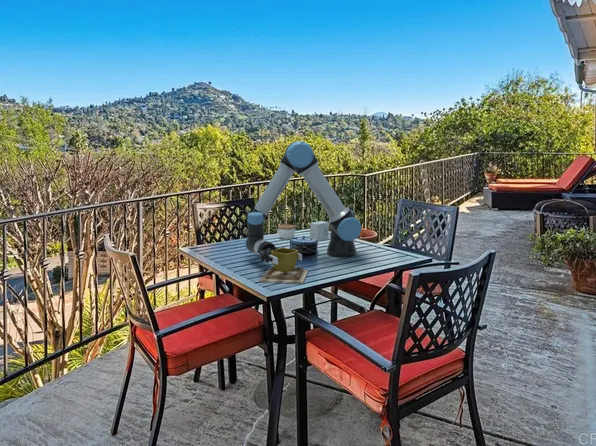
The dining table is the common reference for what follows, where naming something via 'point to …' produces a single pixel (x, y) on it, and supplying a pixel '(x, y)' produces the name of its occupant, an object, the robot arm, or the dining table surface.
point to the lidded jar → (286, 231)
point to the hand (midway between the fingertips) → (289, 259)
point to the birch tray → (284, 276)
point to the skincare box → (319, 230)
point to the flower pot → (285, 259)
